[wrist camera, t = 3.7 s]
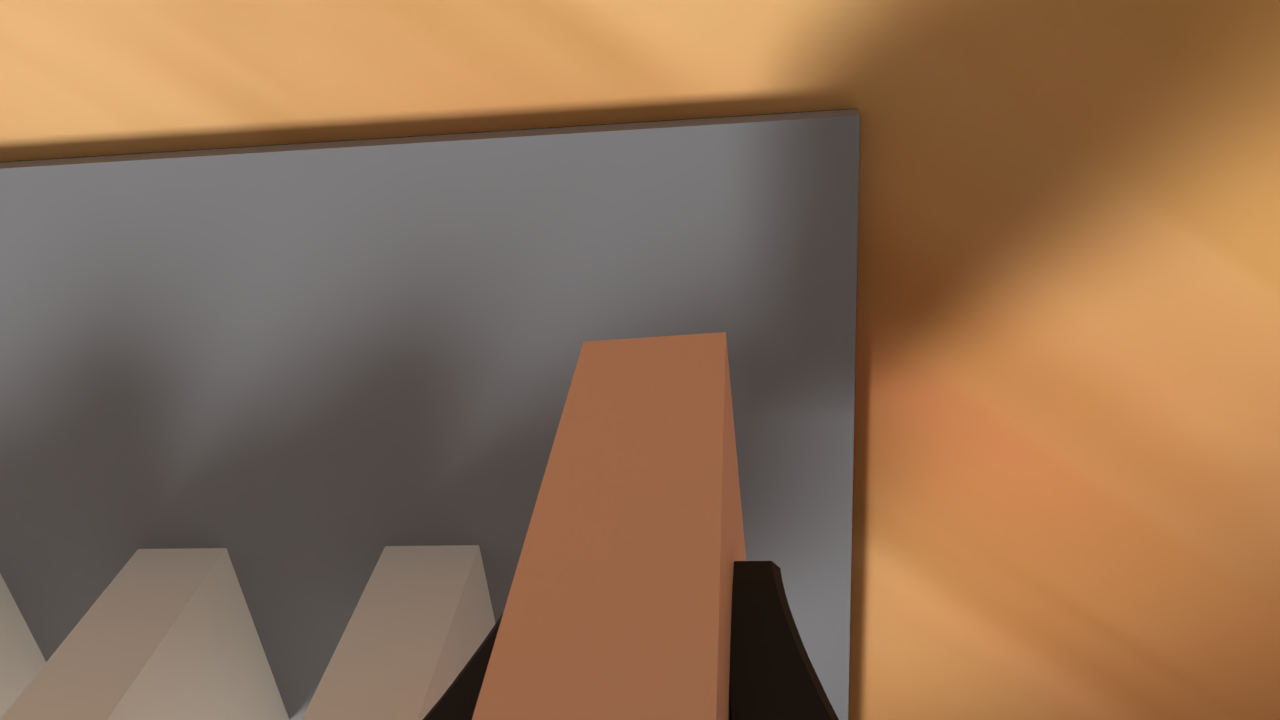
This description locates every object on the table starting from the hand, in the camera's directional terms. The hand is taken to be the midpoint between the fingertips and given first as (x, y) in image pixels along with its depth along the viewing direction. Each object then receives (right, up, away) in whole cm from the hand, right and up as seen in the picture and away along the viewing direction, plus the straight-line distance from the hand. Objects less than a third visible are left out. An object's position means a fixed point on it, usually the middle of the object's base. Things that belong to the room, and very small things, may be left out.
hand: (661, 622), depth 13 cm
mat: (-11, 0, +9) cm, 15 cm away
